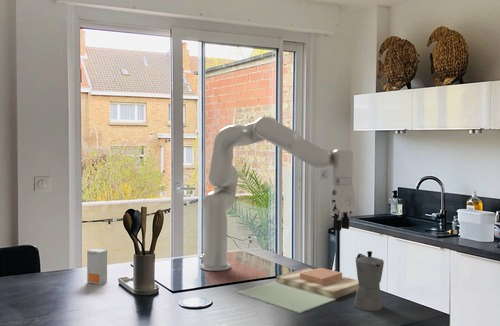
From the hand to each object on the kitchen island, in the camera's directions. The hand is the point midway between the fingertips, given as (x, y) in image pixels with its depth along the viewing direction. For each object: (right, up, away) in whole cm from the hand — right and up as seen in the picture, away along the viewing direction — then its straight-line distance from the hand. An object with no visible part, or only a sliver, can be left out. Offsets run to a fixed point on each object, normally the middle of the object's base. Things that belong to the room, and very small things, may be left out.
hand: (341, 228), depth 198 cm
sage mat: (-23, -20, -21) cm, 37 cm away
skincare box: (-91, -19, -7) cm, 93 cm away
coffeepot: (+3, -21, -29) cm, 36 cm away
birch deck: (-9, -20, -8) cm, 23 cm away
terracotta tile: (-9, -17, -7) cm, 21 cm away
